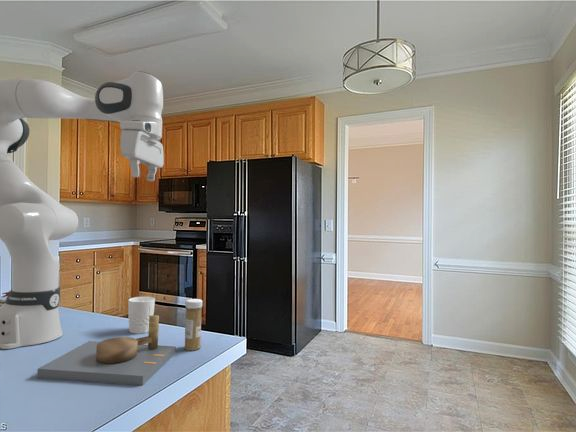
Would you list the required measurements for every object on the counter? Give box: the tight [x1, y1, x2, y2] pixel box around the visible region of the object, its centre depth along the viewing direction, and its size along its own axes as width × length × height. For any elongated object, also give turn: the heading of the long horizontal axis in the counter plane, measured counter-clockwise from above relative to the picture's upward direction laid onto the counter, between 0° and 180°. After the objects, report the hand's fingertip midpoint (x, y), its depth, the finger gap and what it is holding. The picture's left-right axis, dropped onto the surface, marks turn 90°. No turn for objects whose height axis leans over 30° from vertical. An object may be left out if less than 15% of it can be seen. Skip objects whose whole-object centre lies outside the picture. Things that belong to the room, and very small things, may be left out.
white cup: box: [127, 296, 156, 335], centre depth 112 cm, size 8×8×10 cm
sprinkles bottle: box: [184, 298, 203, 351], centre depth 99 cm, size 5×5×14 cm
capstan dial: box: [96, 314, 160, 363], centre depth 88 cm, size 15×9×8 cm, turn 136°
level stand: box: [36, 340, 176, 386], centre depth 86 cm, size 24×18×2 cm
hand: (143, 179), depth 100 cm, fingers open, 8 cm apart
